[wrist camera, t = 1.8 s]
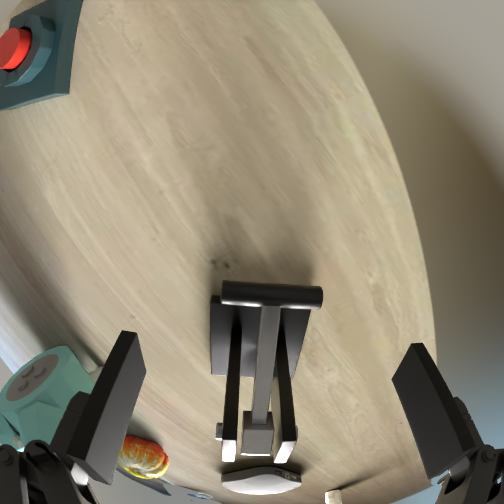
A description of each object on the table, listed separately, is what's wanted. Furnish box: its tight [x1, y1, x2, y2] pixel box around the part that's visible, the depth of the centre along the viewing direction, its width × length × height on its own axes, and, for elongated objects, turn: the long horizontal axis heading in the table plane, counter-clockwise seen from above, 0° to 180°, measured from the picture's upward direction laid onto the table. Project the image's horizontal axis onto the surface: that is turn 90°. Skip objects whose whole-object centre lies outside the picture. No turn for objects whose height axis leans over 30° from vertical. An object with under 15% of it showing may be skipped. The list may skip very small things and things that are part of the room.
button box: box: [0, 0, 83, 111], centre depth 14 cm, size 10×8×4 cm
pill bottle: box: [325, 490, 342, 504], centre depth 54 cm, size 4×4×8 cm
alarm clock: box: [0, 346, 104, 452], centre depth 23 cm, size 17×10×20 cm, turn 112°
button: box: [0, 28, 32, 69], centre depth 11 cm, size 4×4×2 cm
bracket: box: [210, 295, 311, 463], centre depth 22 cm, size 10×9×13 cm
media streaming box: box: [221, 467, 302, 494], centre depth 46 cm, size 15×15×3 cm
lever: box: [221, 280, 323, 455], centre depth 18 cm, size 13×6×2 cm, turn 176°
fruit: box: [118, 435, 169, 479], centre depth 39 cm, size 11×10×8 cm
